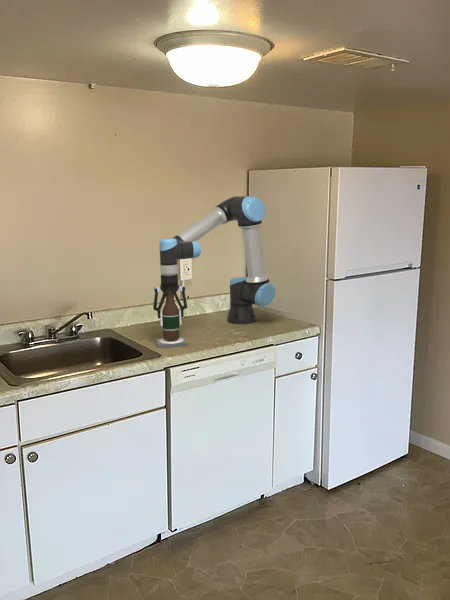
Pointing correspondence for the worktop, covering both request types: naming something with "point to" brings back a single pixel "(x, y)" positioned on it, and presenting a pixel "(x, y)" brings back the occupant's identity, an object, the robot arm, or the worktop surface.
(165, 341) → the grey soap dish
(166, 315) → the beer bottle
